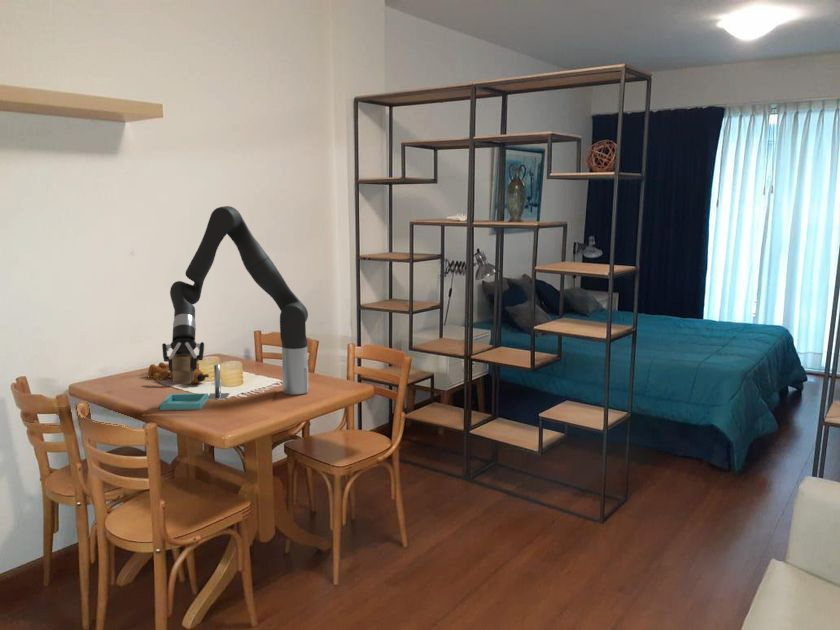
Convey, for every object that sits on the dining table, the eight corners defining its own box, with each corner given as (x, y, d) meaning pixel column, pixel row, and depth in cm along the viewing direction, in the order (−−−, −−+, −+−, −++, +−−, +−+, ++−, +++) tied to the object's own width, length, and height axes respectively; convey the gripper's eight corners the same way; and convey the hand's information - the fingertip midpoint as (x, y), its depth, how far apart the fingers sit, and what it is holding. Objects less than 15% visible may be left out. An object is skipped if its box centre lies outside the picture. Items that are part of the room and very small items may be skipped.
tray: (208, 400, 231) (208, 393, 231) (200, 410, 219) (200, 403, 219) (170, 401, 230) (170, 394, 229) (160, 411, 218) (160, 403, 218)
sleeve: (194, 379, 226) (193, 353, 225) (190, 383, 221) (189, 357, 219) (177, 379, 226) (176, 353, 224) (173, 383, 220) (171, 357, 219)
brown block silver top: (229, 394, 239) (228, 362, 237) (226, 399, 232) (224, 367, 230) (210, 394, 238) (209, 362, 236) (205, 400, 231) (204, 367, 230)
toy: (134, 383, 258) (181, 392, 241) (132, 366, 257) (179, 374, 240) (178, 373, 274) (224, 381, 257) (176, 357, 273) (223, 364, 256)
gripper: (161, 324, 225) (158, 365, 216) (205, 323, 229) (204, 363, 220) (163, 336, 231) (161, 377, 222) (206, 335, 235) (205, 375, 226)
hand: (182, 370), depth 221 cm, fingers closed on sleeve, 6 cm apart
